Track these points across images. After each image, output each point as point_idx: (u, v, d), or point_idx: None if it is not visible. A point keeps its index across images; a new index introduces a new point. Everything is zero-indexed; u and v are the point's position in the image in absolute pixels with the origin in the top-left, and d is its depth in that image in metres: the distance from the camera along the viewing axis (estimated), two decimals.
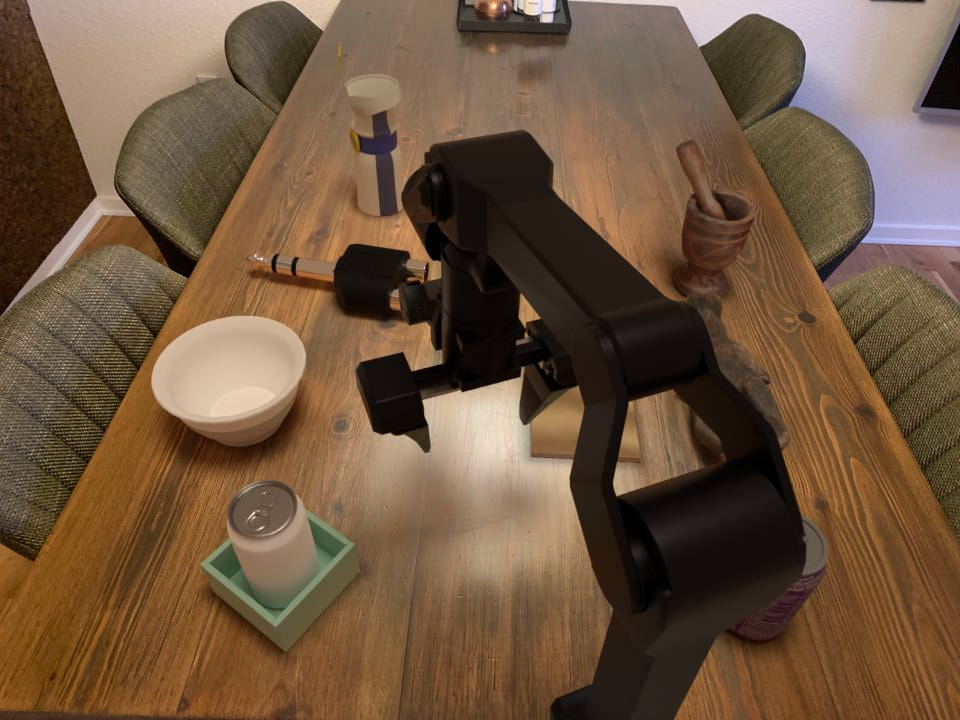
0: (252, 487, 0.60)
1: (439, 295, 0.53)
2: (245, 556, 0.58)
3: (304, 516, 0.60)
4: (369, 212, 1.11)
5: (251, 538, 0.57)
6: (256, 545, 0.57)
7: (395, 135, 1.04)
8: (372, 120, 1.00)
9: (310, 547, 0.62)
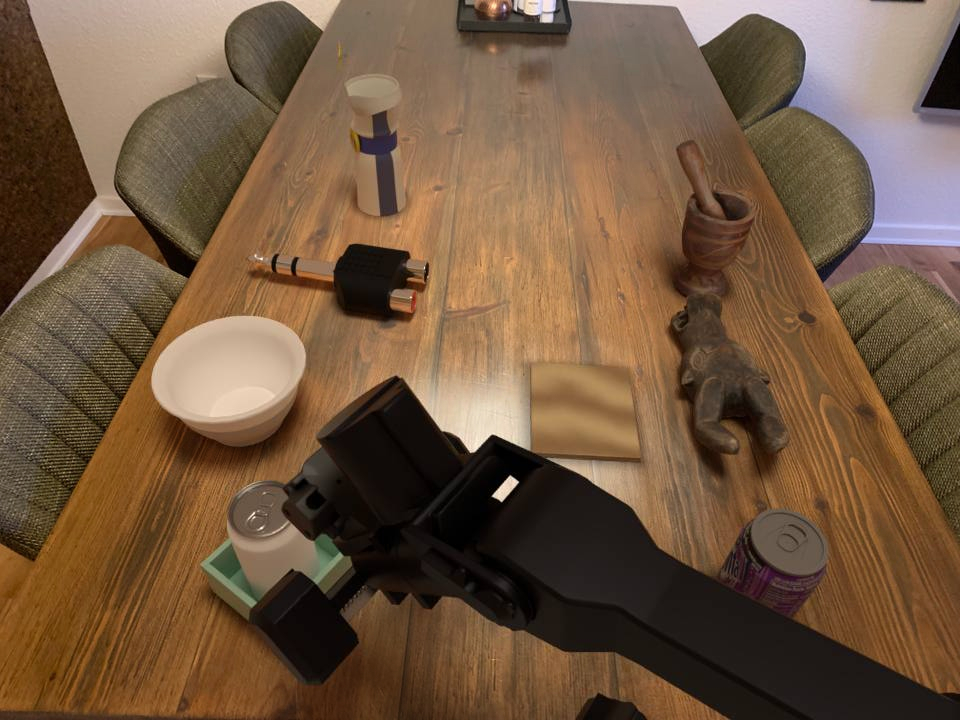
0: (252, 487, 0.60)
1: (379, 540, 0.42)
2: (245, 556, 0.58)
3: None
4: (369, 212, 1.11)
5: (251, 538, 0.57)
6: (256, 545, 0.57)
7: (395, 135, 1.04)
8: (372, 120, 1.00)
9: (310, 547, 0.62)
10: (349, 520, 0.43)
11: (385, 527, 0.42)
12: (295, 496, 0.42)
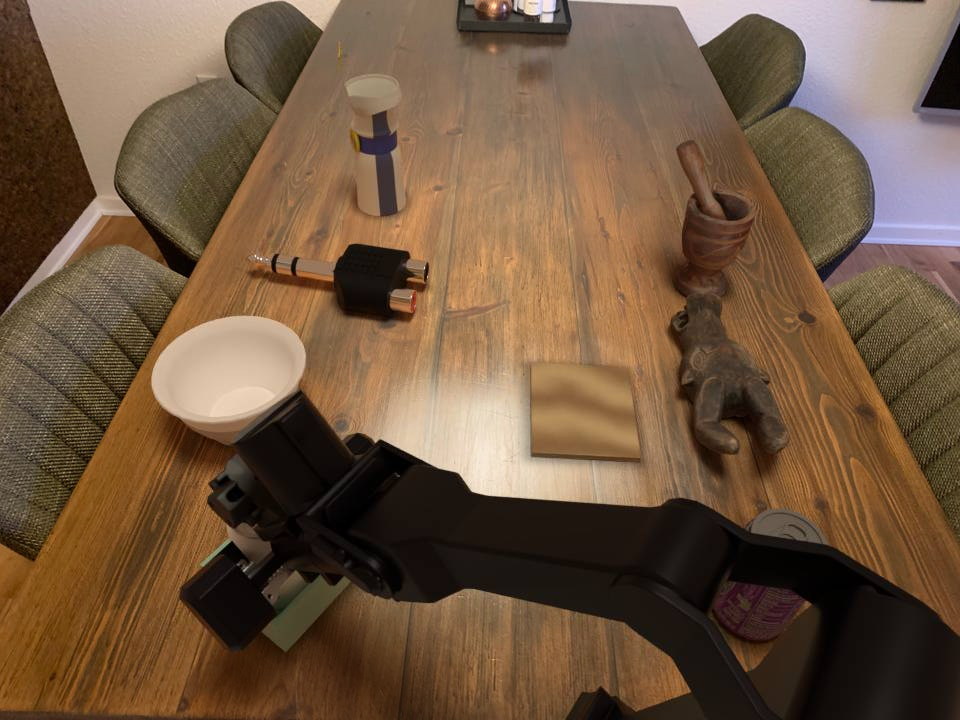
0: None
1: (289, 527, 0.50)
2: None
3: None
4: (369, 212, 1.11)
5: (251, 538, 0.57)
6: (256, 545, 0.57)
7: (395, 135, 1.04)
8: (372, 120, 1.00)
9: None
10: (265, 511, 0.51)
11: (295, 516, 0.50)
12: (218, 491, 0.50)
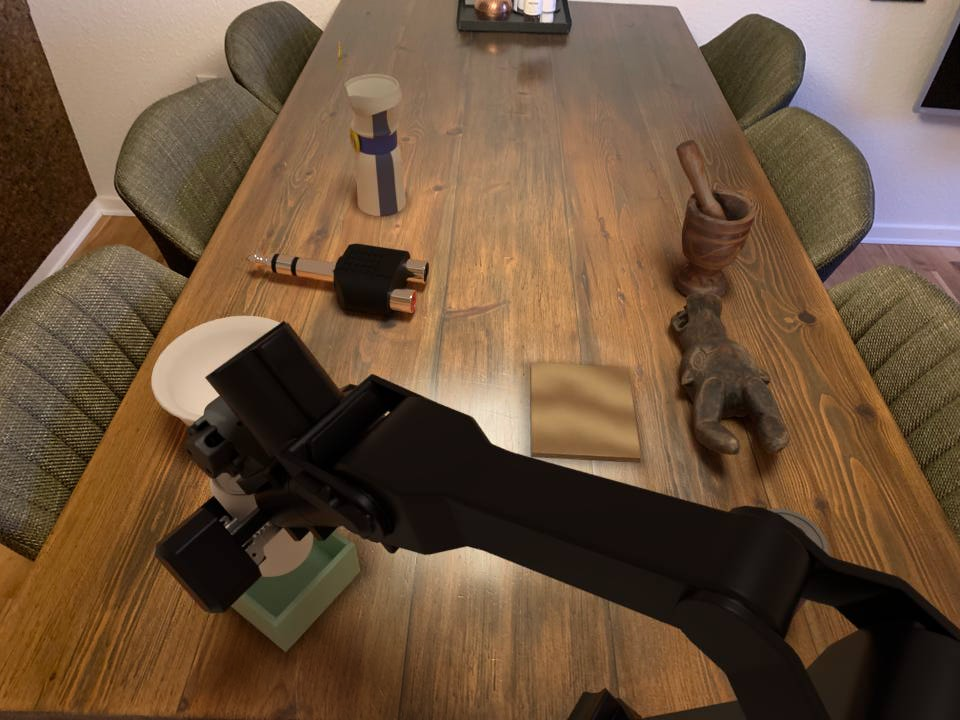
0: None
1: (273, 475, 0.45)
2: None
3: None
4: (369, 212, 1.11)
5: (235, 494, 0.52)
6: (241, 503, 0.53)
7: (395, 135, 1.04)
8: (372, 120, 1.00)
9: None
10: (248, 459, 0.47)
11: (280, 464, 0.46)
12: (195, 436, 0.46)
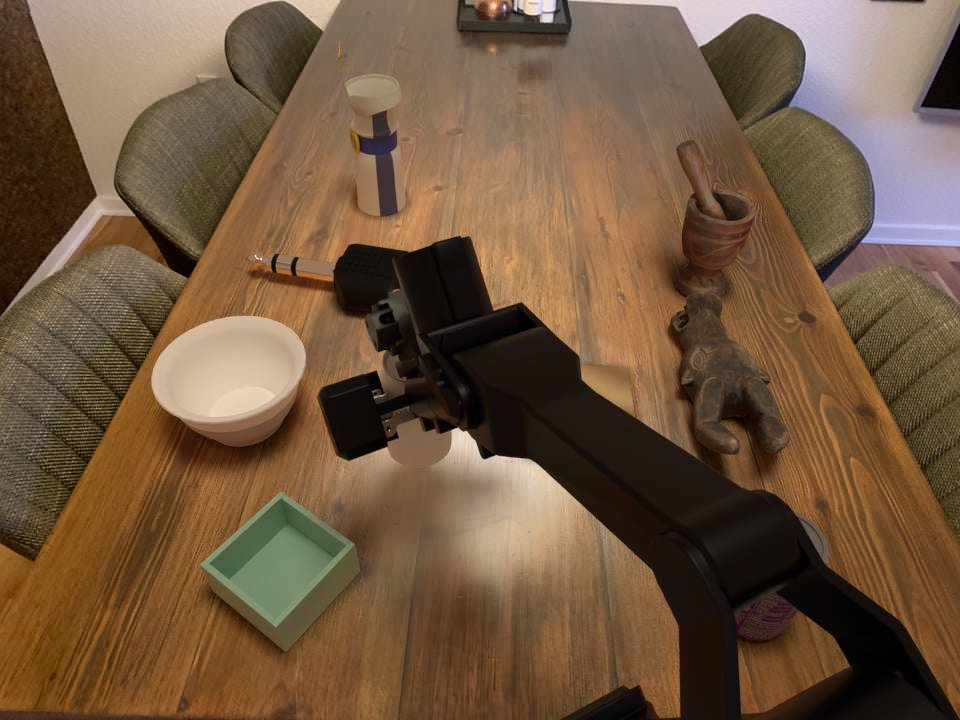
0: None
1: None
2: None
3: None
4: (369, 212, 1.11)
5: (394, 378, 0.61)
6: (396, 387, 0.61)
7: (395, 135, 1.04)
8: (372, 120, 1.00)
9: None
10: (407, 345, 0.54)
11: None
12: (375, 312, 0.55)
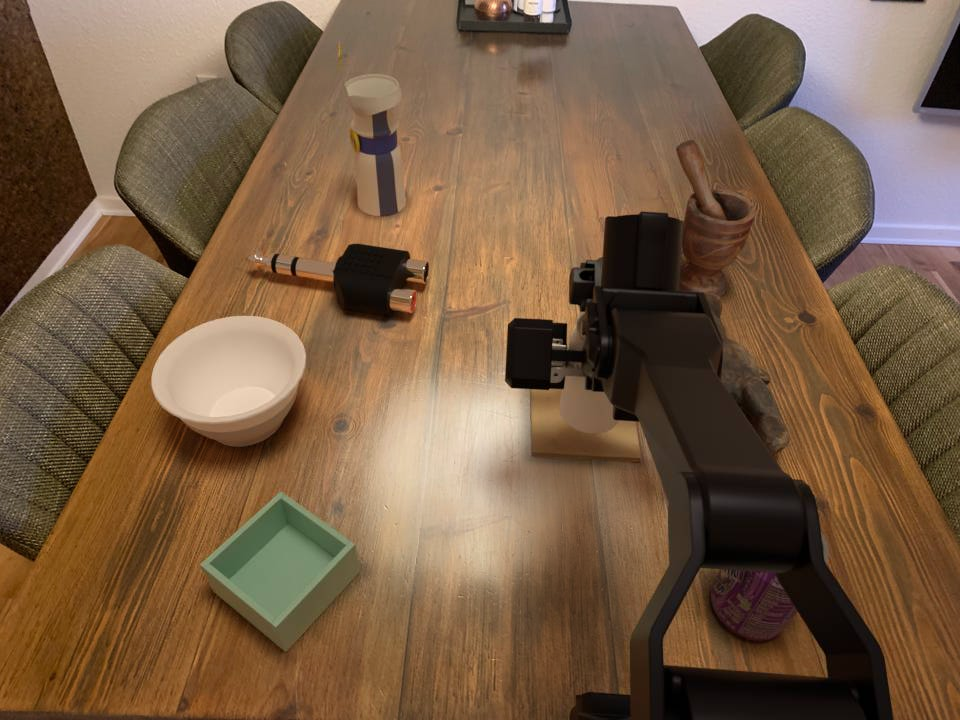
0: None
1: None
2: None
3: None
4: (369, 212, 1.11)
5: (581, 337, 0.66)
6: (580, 346, 0.66)
7: (395, 135, 1.04)
8: (372, 120, 1.00)
9: None
10: None
11: (608, 320, 0.57)
12: None
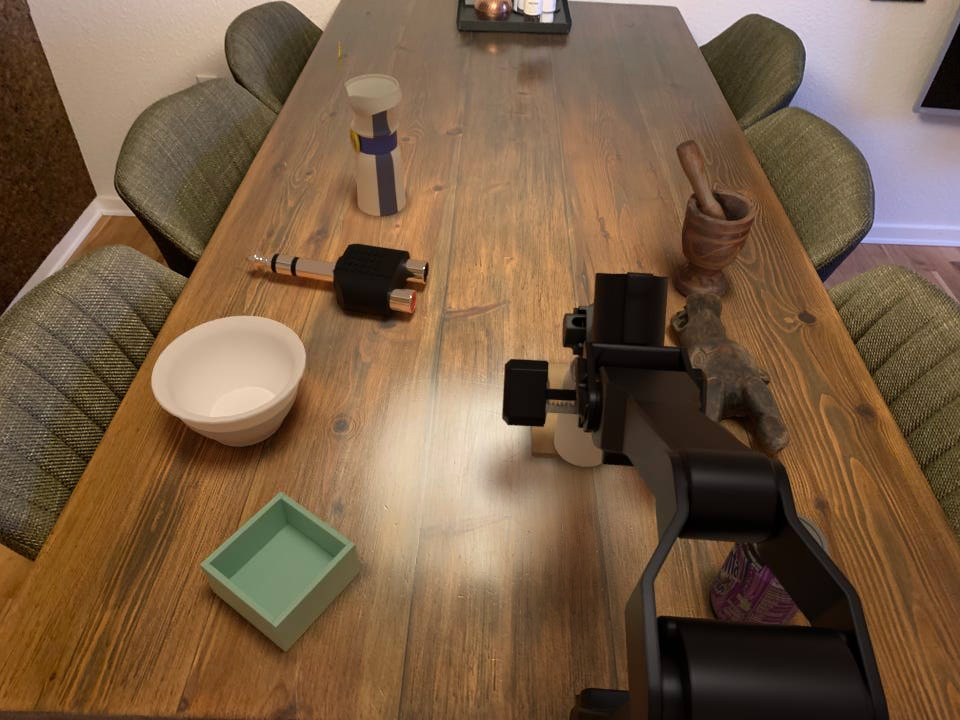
0: None
1: None
2: None
3: None
4: (369, 212, 1.11)
5: (574, 380, 0.69)
6: (573, 388, 0.70)
7: (395, 135, 1.04)
8: (372, 120, 1.00)
9: None
10: None
11: None
12: (572, 313, 0.63)
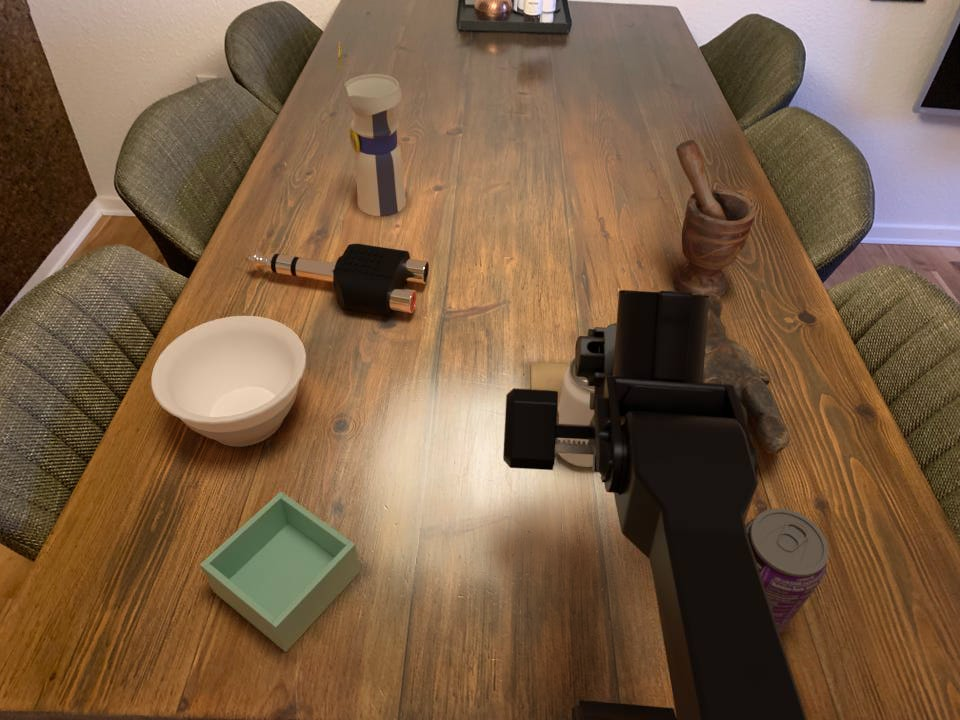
0: None
1: None
2: (563, 392, 0.72)
3: None
4: (369, 212, 1.11)
5: (574, 380, 0.69)
6: (573, 388, 0.70)
7: (395, 135, 1.04)
8: (372, 120, 1.00)
9: None
10: None
11: None
12: (587, 336, 0.53)
